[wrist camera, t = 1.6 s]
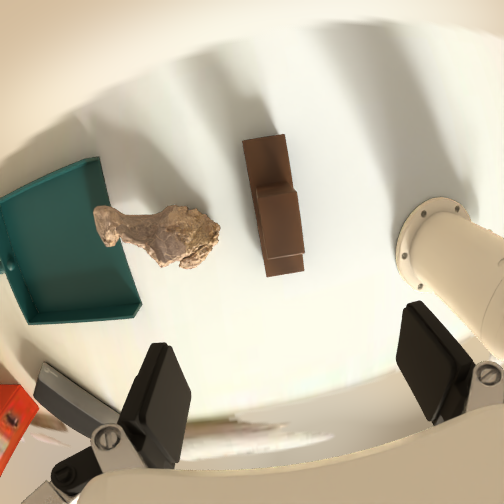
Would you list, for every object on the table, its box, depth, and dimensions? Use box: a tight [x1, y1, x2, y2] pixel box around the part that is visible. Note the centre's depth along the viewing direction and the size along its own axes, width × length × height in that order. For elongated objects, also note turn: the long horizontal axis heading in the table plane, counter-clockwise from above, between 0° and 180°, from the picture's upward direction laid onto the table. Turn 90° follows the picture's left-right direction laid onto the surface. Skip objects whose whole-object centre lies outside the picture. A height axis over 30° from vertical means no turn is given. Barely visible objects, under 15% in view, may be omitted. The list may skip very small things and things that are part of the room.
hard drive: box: [33, 362, 120, 439], centre depth 41 cm, size 13×19×4 cm
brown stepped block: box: [242, 134, 305, 277], centre depth 26 cm, size 4×14×9 cm, turn 10°
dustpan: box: [0, 157, 142, 325], centre depth 31 cm, size 31×19×3 cm, turn 100°
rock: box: [93, 205, 220, 269], centre depth 27 cm, size 6×14×7 cm, turn 78°
